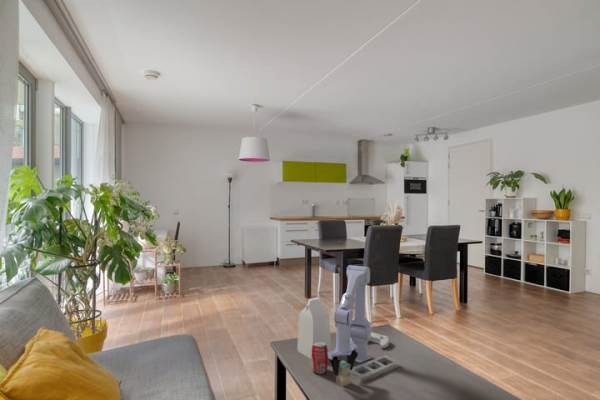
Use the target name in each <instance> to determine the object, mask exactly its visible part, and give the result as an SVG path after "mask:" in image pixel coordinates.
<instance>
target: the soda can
mask: <svg viewBox="0 0 600 400" xmlns="http://www.w3.org/2000/svg"><path fill="white" fill-rule="evenodd" d="M328 360H329V359H328V348H327V345H326V342H324V341H315V342H313V345H312V354H311V359H310V361H311V370H312V371H313V372H314V373H315V374H319V375H320V374H324V373H326V372H327V371H328V363H329V361H328Z"/></svg>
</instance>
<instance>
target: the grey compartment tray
mask: <svg viewBox="0 0 600 400" xmlns="http://www.w3.org/2000/svg"><path fill="white" fill-rule="evenodd" d="M384 363H386V364H384ZM372 367H373V368H372ZM374 367H375V368H376V369H374ZM398 367H400V361H398V360H397V359H395V358H392V357H391V356H388V355H386V354H385V355H382V356H379V357H376V358H374V359H370V361H367V362H364V363H361V364H359V365H356V366H353V369H352V370H350V378H353V379H354V380H355V381H356V382H359V383H360V384H361V383H363V382H366V381H368V380H371V379H372V378H373V379H374V378H376V377H378V376H381V375H382V374H385V373H387V372H390V371H392V370H394V369H397V368H398ZM361 372H364V374H361Z"/></svg>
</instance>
